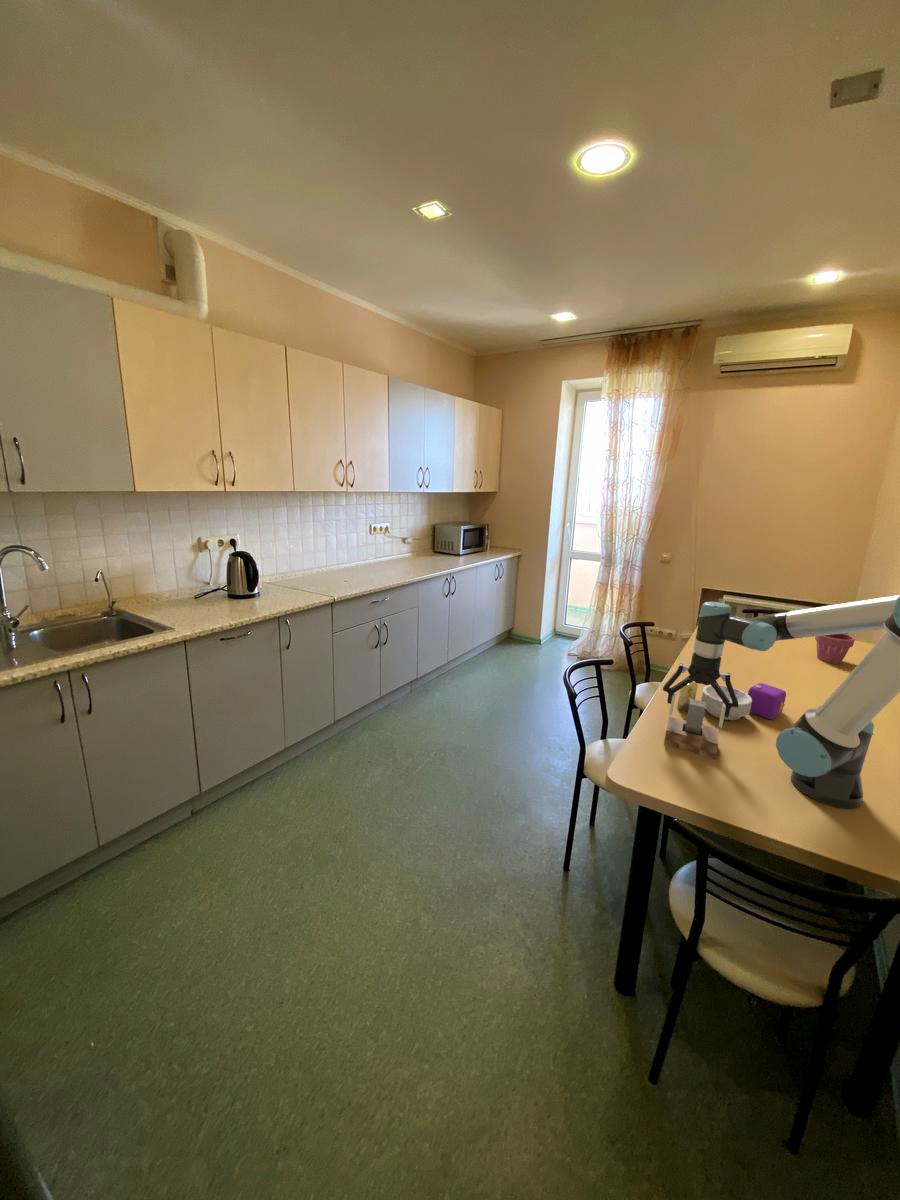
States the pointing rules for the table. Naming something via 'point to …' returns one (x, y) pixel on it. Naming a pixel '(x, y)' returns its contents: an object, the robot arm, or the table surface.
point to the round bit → (686, 696)
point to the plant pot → (833, 647)
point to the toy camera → (766, 700)
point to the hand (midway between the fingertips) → (695, 719)
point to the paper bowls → (716, 703)
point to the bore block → (691, 738)
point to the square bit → (695, 716)
